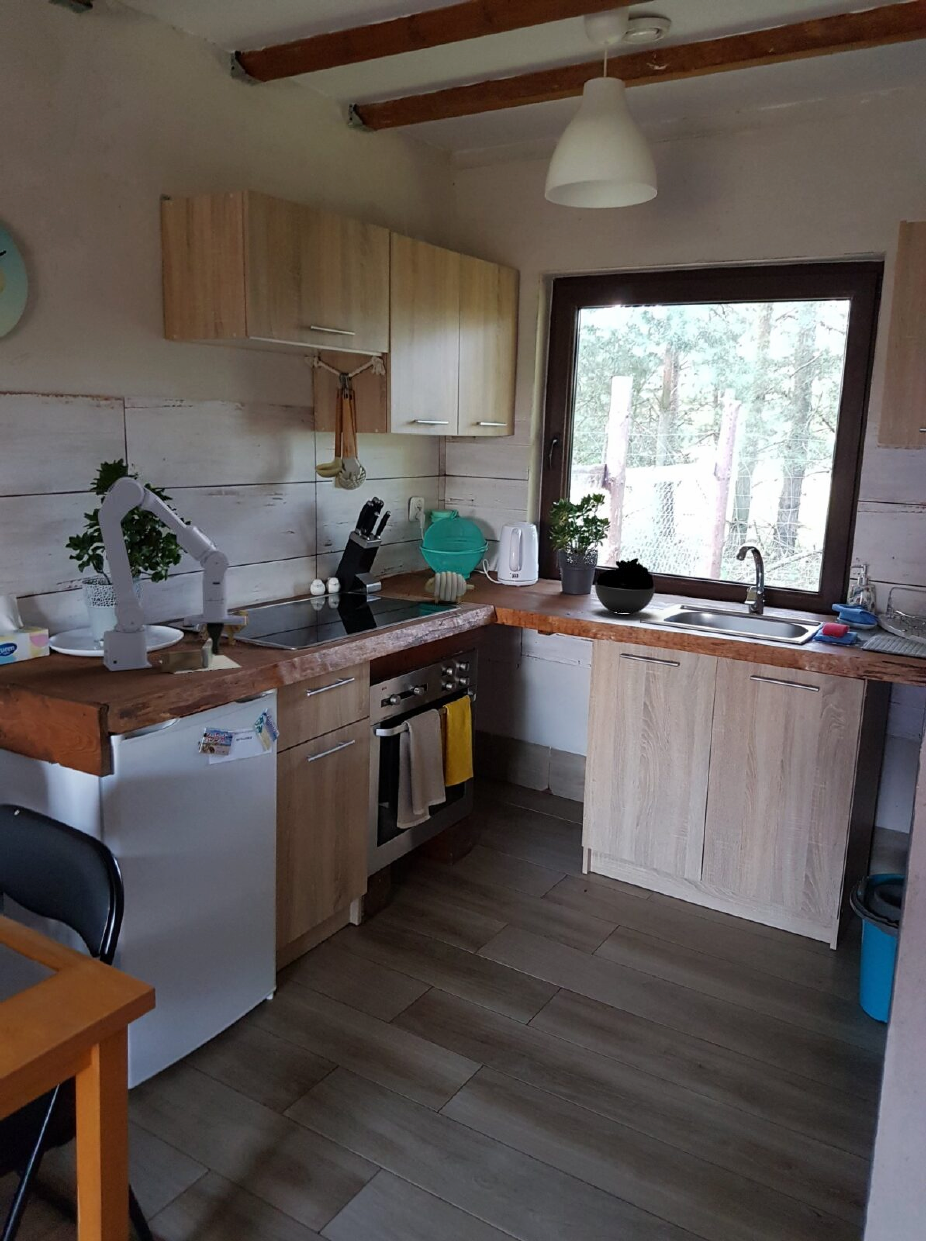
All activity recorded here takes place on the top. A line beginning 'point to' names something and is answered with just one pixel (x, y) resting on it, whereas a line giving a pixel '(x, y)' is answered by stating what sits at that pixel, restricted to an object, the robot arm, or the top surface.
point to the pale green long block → (207, 653)
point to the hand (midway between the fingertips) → (215, 653)
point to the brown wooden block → (181, 660)
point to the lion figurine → (227, 628)
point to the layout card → (213, 665)
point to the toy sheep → (447, 586)
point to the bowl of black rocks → (625, 587)
